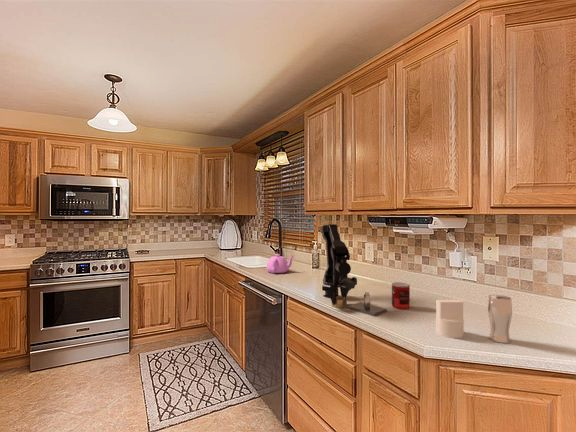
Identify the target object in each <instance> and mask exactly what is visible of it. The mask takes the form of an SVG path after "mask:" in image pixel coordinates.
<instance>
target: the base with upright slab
mask: <svg viewBox="0 0 576 432" xmlns="http://www.w3.org/2000/svg"><path fill="white" fill-rule="evenodd" d="M435 304H436V309H435V311H436V312H435V314H436V315H435V332H436V334H438V335H440V336H441V337H444V338H445V337H446V338H448V339H463V338H464V330H465V326H464V324H465V319H464V301H463V300H461V299H436V303H435Z"/></svg>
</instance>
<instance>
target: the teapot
mask: <svg viewBox="0 0 576 432" xmlns="http://www.w3.org/2000/svg"><path fill="white" fill-rule="evenodd" d="M294 256H295V255H291V256H289V260H287V259H286V258H285V256H283V255H282V256H281V255H280V253H276V254H274V256H271V257H270V258H269V260H268V261H267V263H266V266H265V267H266V271H267V272H268V273H271V274H284V273H287V272H288V270H289V268H291V267H292V263H293V262H292V261H293V258H294Z"/></svg>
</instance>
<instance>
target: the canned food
mask: <svg viewBox="0 0 576 432" xmlns="http://www.w3.org/2000/svg"><path fill="white" fill-rule="evenodd" d="M410 290H411V289H410V283H406V282H399V281H397V282H395V281H394V282H392V284H391V306H392V307H393V308H394V309H396V310H408V309H409V308H410V305H411V304H410V300H411V298H410Z"/></svg>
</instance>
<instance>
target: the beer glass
mask: <svg viewBox="0 0 576 432" xmlns="http://www.w3.org/2000/svg"><path fill="white" fill-rule="evenodd" d="M487 301H488V302H487V303H488V304H487V313H488V318H489V324H490V332H489V337H488V338H489V340H490V341H493V342H497V343H499V344H510V343H511V337H510V327H511V322H512V317H513V303H512V298H511V297H510V296H508V295H506V296H505V295H501V294H489V295H488V300H487Z"/></svg>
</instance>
